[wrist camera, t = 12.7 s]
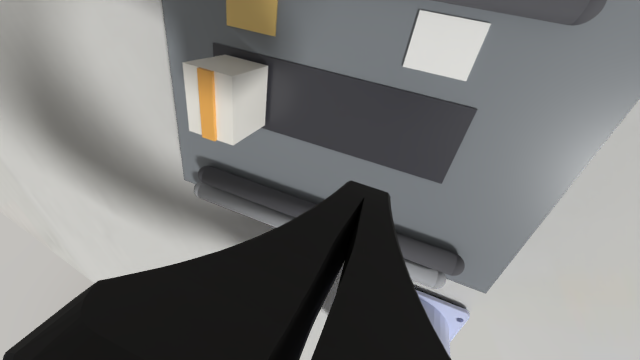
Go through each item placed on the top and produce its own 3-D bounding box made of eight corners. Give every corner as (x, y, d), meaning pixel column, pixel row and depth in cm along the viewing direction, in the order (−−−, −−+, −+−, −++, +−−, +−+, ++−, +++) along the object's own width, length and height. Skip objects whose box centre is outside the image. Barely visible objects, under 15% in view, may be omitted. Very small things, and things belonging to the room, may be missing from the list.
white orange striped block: (264, 125, 18) (230, 146, 15) (226, 113, 18) (186, 132, 15) (268, 65, 16) (229, 77, 13) (225, 54, 16) (179, 63, 13)
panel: (481, 271, 20) (485, 295, 19) (200, 169, 25) (183, 180, 23) (709, -43, 10) (763, -54, 9) (176, -110, 15) (143, -126, 14)
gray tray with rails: (448, 282, 19) (448, 299, 18) (197, 187, 23) (185, 196, 22) (637, -10, 10) (663, -13, 9) (171, -81, 14) (148, -90, 13)
